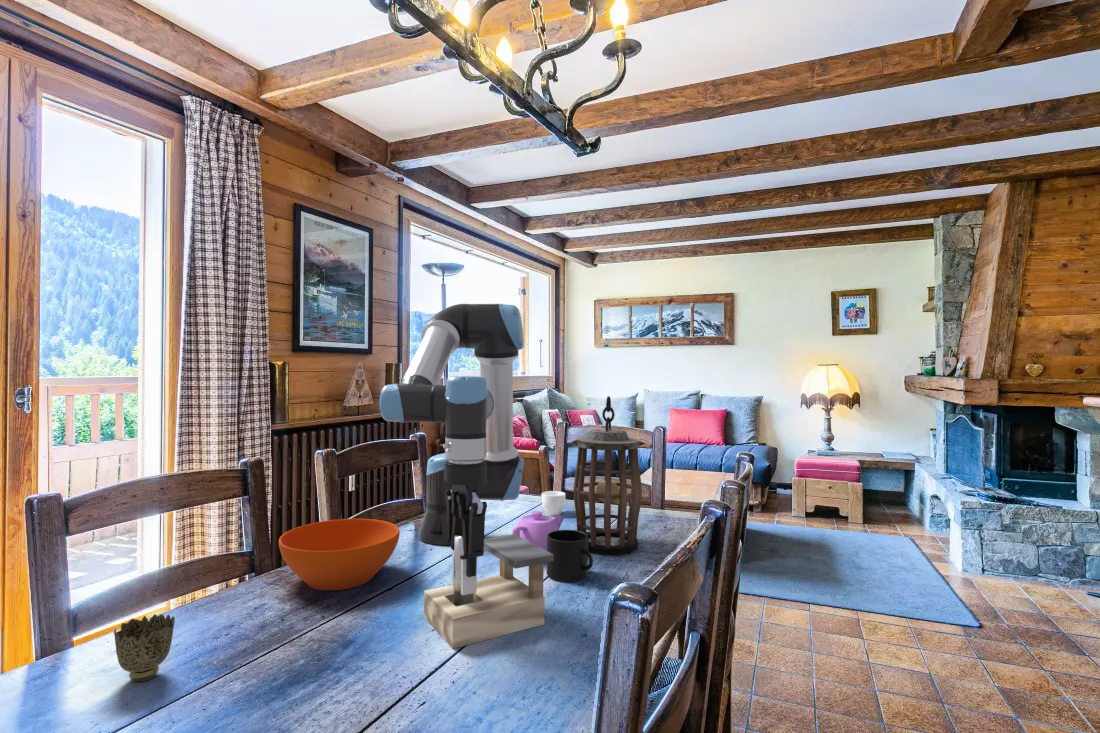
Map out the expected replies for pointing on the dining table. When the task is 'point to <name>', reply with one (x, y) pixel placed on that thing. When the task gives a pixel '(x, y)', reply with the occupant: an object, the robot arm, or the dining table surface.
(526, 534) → the teapot
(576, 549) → the mug
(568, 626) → the dining table surface
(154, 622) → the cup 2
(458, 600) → the peg
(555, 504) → the cup
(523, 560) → the socket porch
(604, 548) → the lantern
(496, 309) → the robot arm
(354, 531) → the bowl
